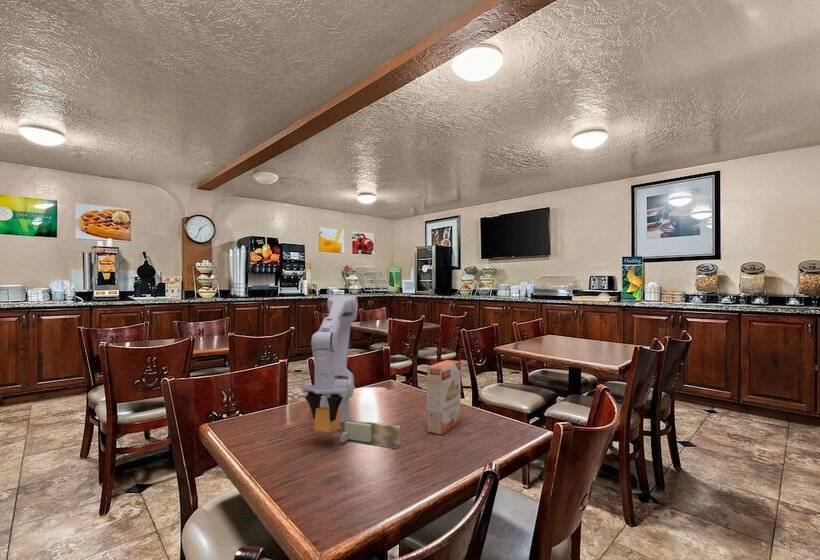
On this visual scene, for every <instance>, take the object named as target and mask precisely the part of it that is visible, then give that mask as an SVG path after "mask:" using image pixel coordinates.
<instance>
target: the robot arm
mask: <svg viewBox="0 0 820 560" xmlns="http://www.w3.org/2000/svg"><path fill="white" fill-rule="evenodd" d="M358 302H359V301H358V297H357V295H355V294H353V295H351V294H349V295H339V294H338V295H335V294H334V295H332V294H329V296H328V298H327V305H326V306H327V307H326V308H327V311H328V316H326V317H324V318H323V320H322V322H321V324H320V327H319V328H318V330H317V331H316V332H315V333H313V334H312V336H311V343H310V344H311V349H312V357H313V358H314V384H304V385H302V386H301V393H303V394H306V393H307V395H305V398H304V399H305V400H306V402H307V403H308V405H309V408H310V411H311V413H312V417H313V420H315V412H316V408H320V407H326V406H329V411H330V421H334V420H336V415H337V411H338V408H341V416H340V421H342V420H343V419H350V398H352V396H353V395H354V391H355V376H354V374H353V372H351V371H350V370H349V369H348V368H347V366H348V359H349V356H348V355H349V344H350V334H351V326H352V322H354V321H356V320H357V317H358V310H359V309H358V307H359V303H358ZM337 430H339V431H340V426H339V429H337Z"/></svg>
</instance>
